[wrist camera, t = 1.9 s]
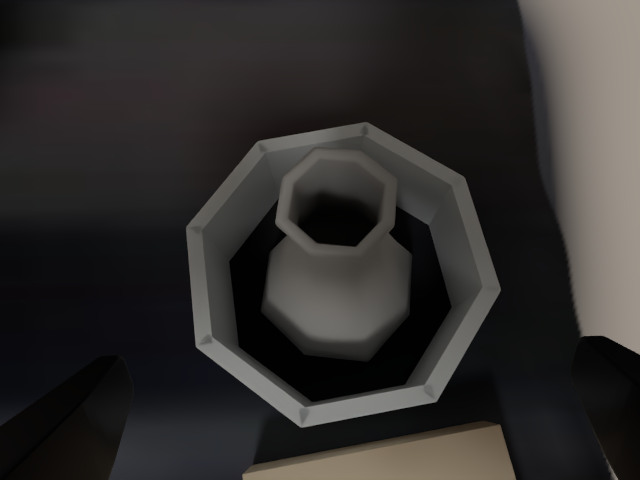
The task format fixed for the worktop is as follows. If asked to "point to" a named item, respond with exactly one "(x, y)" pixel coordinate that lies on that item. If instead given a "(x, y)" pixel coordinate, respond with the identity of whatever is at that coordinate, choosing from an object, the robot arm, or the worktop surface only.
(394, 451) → the oak board
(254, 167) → the collar
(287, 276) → the flask
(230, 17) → the worktop surface
